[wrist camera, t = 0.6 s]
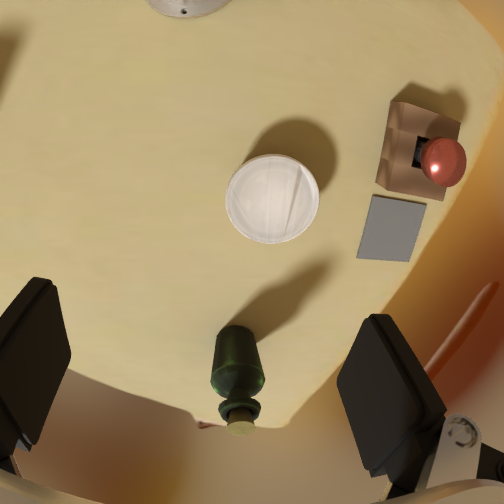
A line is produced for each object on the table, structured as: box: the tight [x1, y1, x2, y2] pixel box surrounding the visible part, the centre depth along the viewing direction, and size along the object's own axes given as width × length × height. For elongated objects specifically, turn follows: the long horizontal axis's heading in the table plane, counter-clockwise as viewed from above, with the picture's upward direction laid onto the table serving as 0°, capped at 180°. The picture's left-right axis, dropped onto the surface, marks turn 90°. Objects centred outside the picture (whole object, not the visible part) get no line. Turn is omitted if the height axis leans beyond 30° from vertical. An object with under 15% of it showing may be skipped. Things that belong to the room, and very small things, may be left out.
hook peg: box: [413, 136, 466, 187], centre depth 36 cm, size 6×6×9 cm
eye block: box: [376, 101, 461, 201], centre depth 38 cm, size 12×10×4 cm
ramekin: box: [225, 154, 320, 244], centre depth 39 cm, size 11×11×5 cm
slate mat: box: [356, 196, 427, 262], centre depth 46 cm, size 10×10×1 cm
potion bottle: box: [210, 326, 265, 435], centre depth 45 cm, size 8×8×18 cm
